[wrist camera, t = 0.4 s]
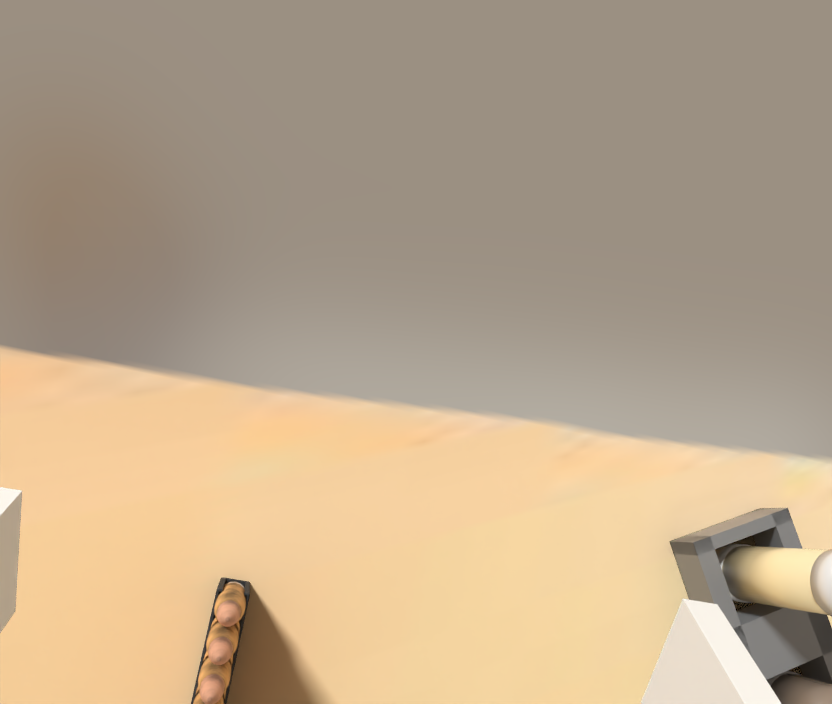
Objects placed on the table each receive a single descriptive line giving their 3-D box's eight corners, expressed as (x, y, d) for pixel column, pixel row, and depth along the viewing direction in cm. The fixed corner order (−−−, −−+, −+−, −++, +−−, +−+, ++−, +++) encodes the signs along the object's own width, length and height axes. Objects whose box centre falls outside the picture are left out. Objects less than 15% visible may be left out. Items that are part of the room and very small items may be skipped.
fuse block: (838, 727, 54) (872, 738, 51) (747, 770, 52) (776, 784, 49) (760, 508, 56) (787, 507, 53) (669, 541, 54) (693, 542, 51)
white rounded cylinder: (764, 590, 55) (900, 609, 43) (718, 608, 54) (845, 632, 42) (745, 536, 55) (874, 540, 44) (699, 553, 54) (820, 562, 43)
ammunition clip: (210, 766, 45) (198, 851, 33) (179, 762, 45) (155, 846, 33) (250, 581, 48) (251, 601, 36) (221, 577, 47) (212, 595, 36)
